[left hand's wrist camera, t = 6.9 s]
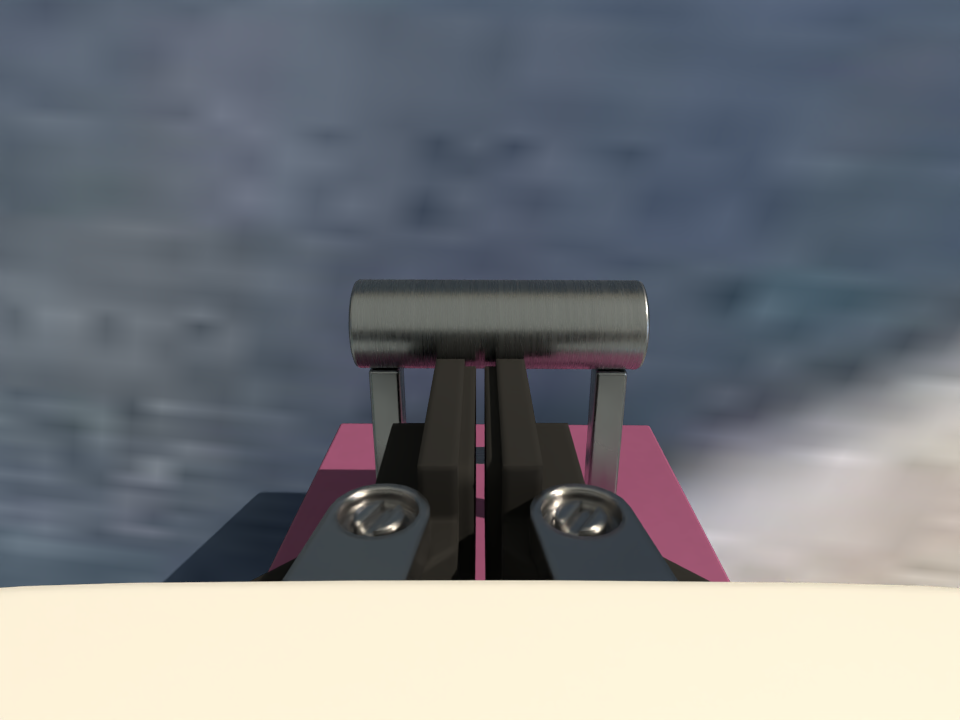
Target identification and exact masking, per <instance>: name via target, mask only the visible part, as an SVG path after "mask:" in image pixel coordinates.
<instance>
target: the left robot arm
mask: <svg viewBox="0 0 960 720" xmlns="http://www.w3.org/2000/svg"><path fill="white" fill-rule="evenodd" d="M484 517H485V580H475V564H476V366H465V359H436V364H435V370H434V375H433V381H432V386H431V392H430V398H429V403H428V409H427V414H426V420H425V423H393V425H392V427H391V430H390V434H389V437H388V441H387V444H386V448H385V451H384V455H383V458H382V462H381V466H380V469H379V473H378V476H377V480H376V483H375V484H373V485H367V486H362V487H359V488H357V489H354V490H351V491H348V492H347V493H345V494H344V495H342V496H340V497H339V498H337V499H336V500H335V501H334V502H333V504H332V505H331V506H330V507H329V508H328V510H327V511H326V513H325V515H324V516H323V518H322V519H321V521H320V522H319V524H318V525H317V527H316V529H315V530H314V532H313V533H312V535H311V536H310V538H309V539H308V541H307V542H306V544H305V546H304V547H303V549H302V550H301V552H300V553H299V555H298V556H297V557H296V558H294V559H293V560H291V561H289V562H287V563H285V564H283V565H281V566H279V567H277V568H275V569H273V570H271V571H269V572H267V573H265V574H263V575H261V576H259V577H258V578H256V579H254V580H252V581H250V582H182V583H115V584H83V585H52V586H21V587H8V588H0V720H960V588H951V587H935V586H913V585H876V584H839V583H794V582H711V581H709V580H707V579H705V578H703V577H701V576H699V575H697V574H695V573H693V572H691V571H689V570H687V569H685V568H684V567H682V566H680V565H678V564H676V563H674V562H672V561H670V560H668V559H666V558H664V557H663V556H662V555H661V553H660V552H659V550H658V549H657V547H656V546H655V544H654V543H653V541H652V539H651V538H650V536H649V535H648V533H647V532H646V530H645V529H644V527H643V525H642V524H641V522H640V521H639V519H638V518H637V516H636V515H635V513H634V511H633V510H632V508H631V507H630V506H629V505H628V504H627V502H626V501H625V500H624V499H623V498H621V497H620V496H618V495H616V494H615V493H613V492H612V491H609V490H606V489H603V488H601V487H598V486H593V485H587V484H585V481H584V478H583V474H582V471H581V467H580V464H579V460H578V457H577V453H576V450H575V446H574V443H573V439H572V436H571V432H570V428H569V426H568V423H535V417H534V411H533V406H532V400H531V395H530V389H529V383H528V378H527V372H526V367H525V361H524V359H496V366H485V438H484Z"/></svg>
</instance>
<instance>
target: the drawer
mask: <svg viewBox="0 0 960 720" xmlns="http://www.w3.org/2000/svg"><path fill="white" fill-rule="evenodd" d="M649 322H650V321H649V304H648V298H647V294H646V290H645V287H644V285H643V284H642V282H640V281H637V280H358V281H356V282H355V284H354V286H353V289H352V293H351V297H350V305H349V340H350V348H351V353H352V357H353V360H354V362H355V364H356V366H358V367H360V368H371V369H370V371H369V381H370V395H371V410H372V424H341V425H340V427H339V429H338V431H337V433H336V435H335V437H334V439H333V441H332V443H331V445H330V447H329V449H328V451H327V453H326V455H325V457H324V459H323V461H322V463H321V465H320V467H319V469H318V472H317V474H316V476H315V478H314V480H313V482H312V484H311V486H310V488H309V490H308V492H307V494H306V496H305V498H304V500H303V502H302V504H301V506H300V508H299V510H298V512H297V514H296V516H295V518H294V520H293V522H292V524H291V526H290V528H289V530H288V532H287V534H286V536H285V538H284V540H283V542H282V544H281V546H280V549H279V551H278V553H277V555H276V557H275V559H274V561H273V563H272V565H271V567H270V569H269V571H271V570H273V569H275V568H277V567H279V566H281V565H283V564H285V563H287V562H289V561H291V560H293V559H294V558H296V557H297V556H298V555H299V553H300V552H301V550H302V549H303V547H304V546H305V544H306V542H307V541H308V539H309V538H310V536H311V535H312V533H313V532H314V530H315V529H316V527H317V525H318V524H319V522H320V521H321V519H322V518H323V516H324V515H325V513H326V511H327V510H328V508H329V507H330V506H331V505H332V504H333V502H334V501H335V500H336V499H337V498H339V497H340V496H342V495H344V494H345V493H347V492H348V491H351V490H354V489H357V488H359V487H362V486H367V485H373V484H375V483H376V480H377V476H378V473H379V469H380V466H381V462H382V458H383V455H384V451H385V448H386V444H387V441H388V437H389V434H390V430H391V427H392V425H393V423H406V408H405V387H404V368H435V364H436V359H465V366H476V368H485V366H496V359H524V361H525V367H526V369H591V384H590V399H589V414H588V425H568V426H569V428H570V432H571V436H572V439H573V443H574V446H575V450H576V453H577V457H578V460H579V464H580V467H581V471H582V474H583V478H584V481H585V484H587V485H593V486H598V487H601V488H603V489H606V490H609V491H612V492H613V493H615V494H616V495H618V496H620V497H621V498H623V499H624V500H625V501H626V502H627V504H628V505H629V506H630V507H631V508H632V510H633V511H634V513H635V515H636V516H637V518H638V519H639V521H640V522H641V524H642V525H643V527H644V529H645V530H646V532H647V533H648V535H649V536H650V538H651V539H652V541H653V543H654V544H655V546H656V547H657V549H658V550H659V552H660V553H661V555H662V556H663V557H664V558H666V559H668V560H670V561H672V562H674V563H676V564H678V565H680V566H682V567H684V568H685V569H687V570H689V571H691V572H693V573H695V574H697V575H699V576H701V577H703V578H705V579H707V580H709V581H711V582H730V581H729V579H728V577H727V575H726V573H725V571H724V569H723V567H722V565H721V563H720V561H719V559H718V557H717V556H716V554H715V552H714V550H713V548H712V546H711V544H710V542H709V540H708V538H707V536H706V534H705V532H704V530H703V529H702V527H701V525H700V523H699V521H698V519H697V517H696V515H695V513H694V511H693V509H692V507H691V505H690V504H689V502H688V500H687V498H686V496H685V494H684V492H683V490H682V488H681V486H680V484H679V482H678V480H677V479H676V477H675V475H674V473H673V471H672V469H671V467H670V465H669V463H668V461H667V459H666V457H665V455H664V453H663V452H662V450H661V448H660V446H659V444H658V442H657V440H656V438H655V436H654V434H653V432H652V430H651V428H650V427H649V426H636V425H623V414H624V403H625V392H626V381H627V373H626V370H625V369H637V368H640V367H641V365H642V364H643V362H644V359H645V356H646V352H647V347H648V340H649ZM484 438H485V424H476V564H475V580H485V517H484ZM269 571H268V572H269Z"/></svg>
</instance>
